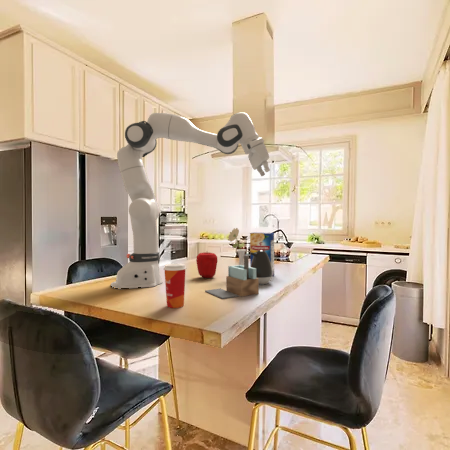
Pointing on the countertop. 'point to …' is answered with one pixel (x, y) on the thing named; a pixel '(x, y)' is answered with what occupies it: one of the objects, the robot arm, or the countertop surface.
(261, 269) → the pump dispenser
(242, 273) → the c link
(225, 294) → the mat
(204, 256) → the apple
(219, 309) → the countertop surface
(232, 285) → the stand
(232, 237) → the flower in vase
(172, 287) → the paper cup
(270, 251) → the beverage box
